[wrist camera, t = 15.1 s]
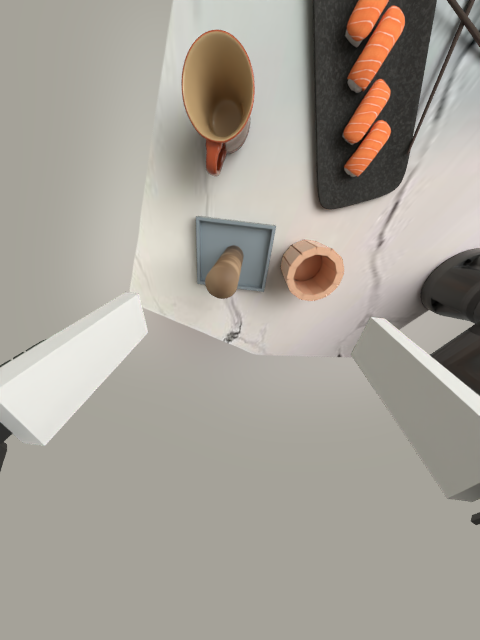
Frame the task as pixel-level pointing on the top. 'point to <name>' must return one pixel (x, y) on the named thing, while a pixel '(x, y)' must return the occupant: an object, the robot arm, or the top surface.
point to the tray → (245, 235)
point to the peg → (225, 273)
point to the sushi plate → (370, 91)
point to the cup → (311, 270)
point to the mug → (218, 94)
